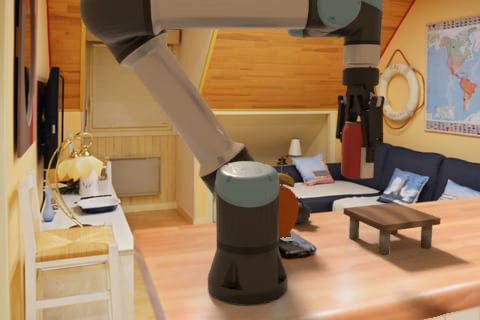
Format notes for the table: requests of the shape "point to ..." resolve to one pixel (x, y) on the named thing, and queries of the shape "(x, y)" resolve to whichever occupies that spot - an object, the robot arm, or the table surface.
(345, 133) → the beer can
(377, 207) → the peg shelf
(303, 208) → the frog
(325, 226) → the table surface
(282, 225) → the alarm clock
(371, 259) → the table surface
